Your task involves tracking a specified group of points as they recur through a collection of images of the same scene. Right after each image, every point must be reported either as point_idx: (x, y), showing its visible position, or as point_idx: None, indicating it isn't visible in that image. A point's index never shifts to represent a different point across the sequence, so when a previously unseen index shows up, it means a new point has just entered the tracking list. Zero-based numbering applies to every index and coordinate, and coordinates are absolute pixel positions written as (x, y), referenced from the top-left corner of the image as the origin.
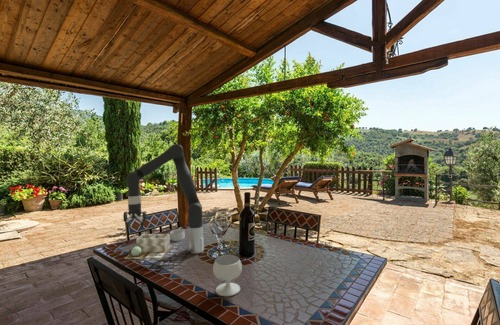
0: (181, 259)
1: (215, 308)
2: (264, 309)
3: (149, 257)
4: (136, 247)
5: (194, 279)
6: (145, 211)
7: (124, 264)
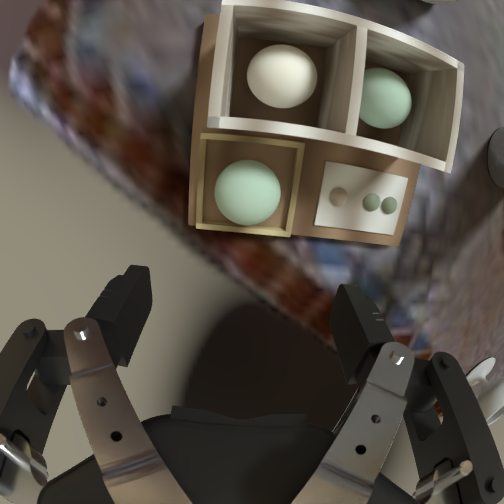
0: (458, 233)
1: None
2: None
3: (337, 226)
4: (253, 211)
5: (452, 352)
6: (492, 499)
7: (215, 254)
